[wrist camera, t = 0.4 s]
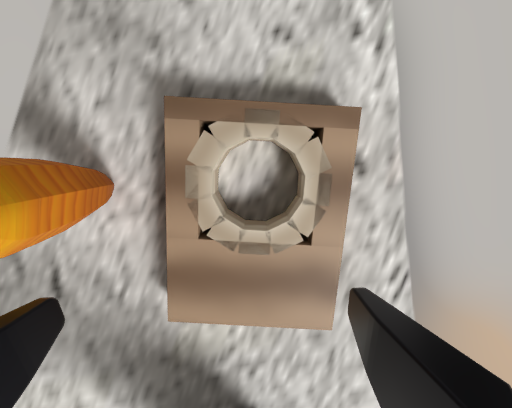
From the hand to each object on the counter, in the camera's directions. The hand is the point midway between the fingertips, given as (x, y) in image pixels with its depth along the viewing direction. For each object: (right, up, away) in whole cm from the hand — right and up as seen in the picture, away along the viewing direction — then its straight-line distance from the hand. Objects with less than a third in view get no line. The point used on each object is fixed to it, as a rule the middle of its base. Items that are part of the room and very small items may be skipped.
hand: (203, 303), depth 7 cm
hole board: (+2, +2, +14) cm, 14 cm away
